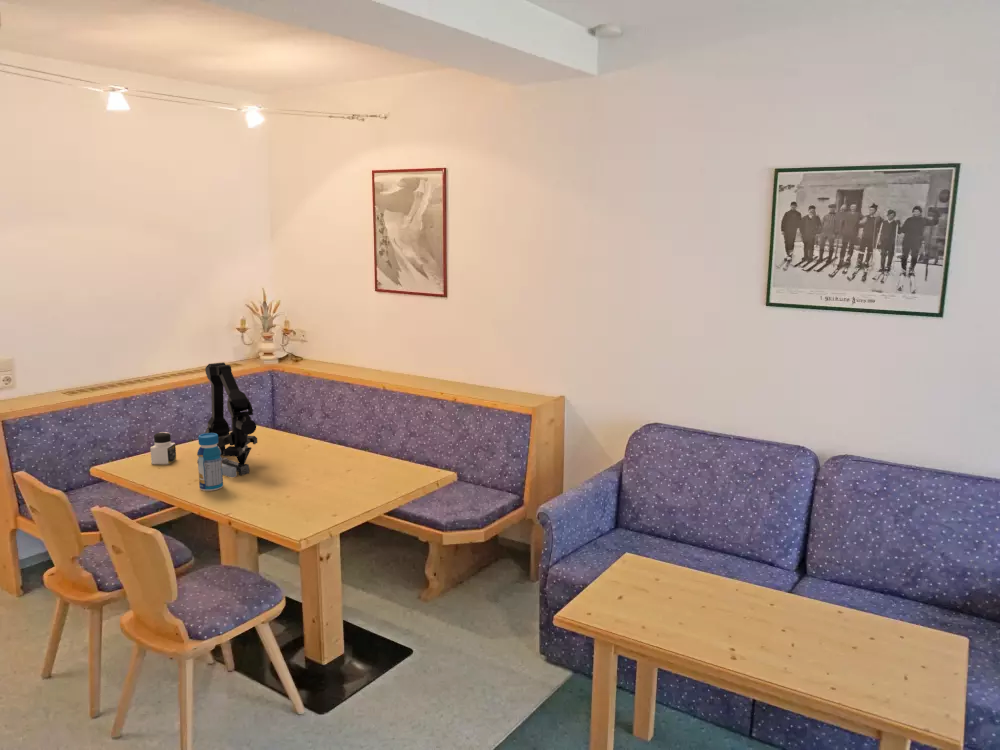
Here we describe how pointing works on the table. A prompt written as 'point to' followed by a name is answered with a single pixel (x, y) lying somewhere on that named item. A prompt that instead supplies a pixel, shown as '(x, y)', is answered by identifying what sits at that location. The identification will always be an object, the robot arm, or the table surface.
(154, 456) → the medicine bottle
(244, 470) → the grey square block
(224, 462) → the lock bar
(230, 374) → the robot arm
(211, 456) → the beverage bottle
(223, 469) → the door board
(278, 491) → the table surface
